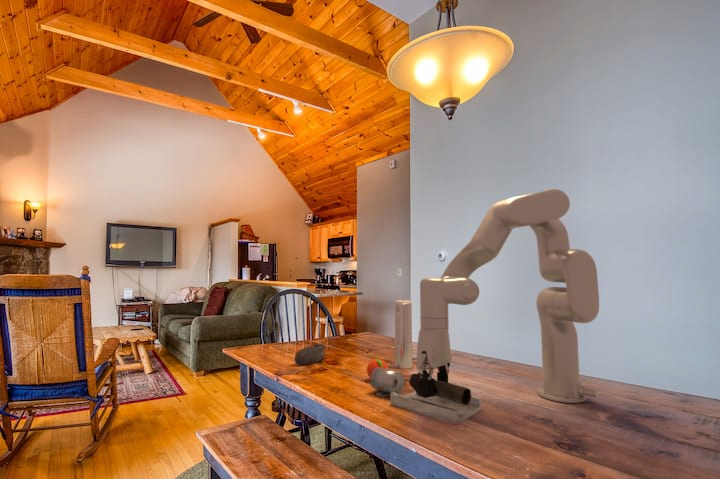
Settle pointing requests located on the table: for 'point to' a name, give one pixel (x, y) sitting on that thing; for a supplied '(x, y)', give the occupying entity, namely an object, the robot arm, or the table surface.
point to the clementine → (375, 365)
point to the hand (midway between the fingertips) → (435, 390)
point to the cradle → (437, 406)
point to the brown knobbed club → (442, 390)
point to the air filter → (403, 334)
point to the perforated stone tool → (310, 354)
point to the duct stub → (386, 381)
